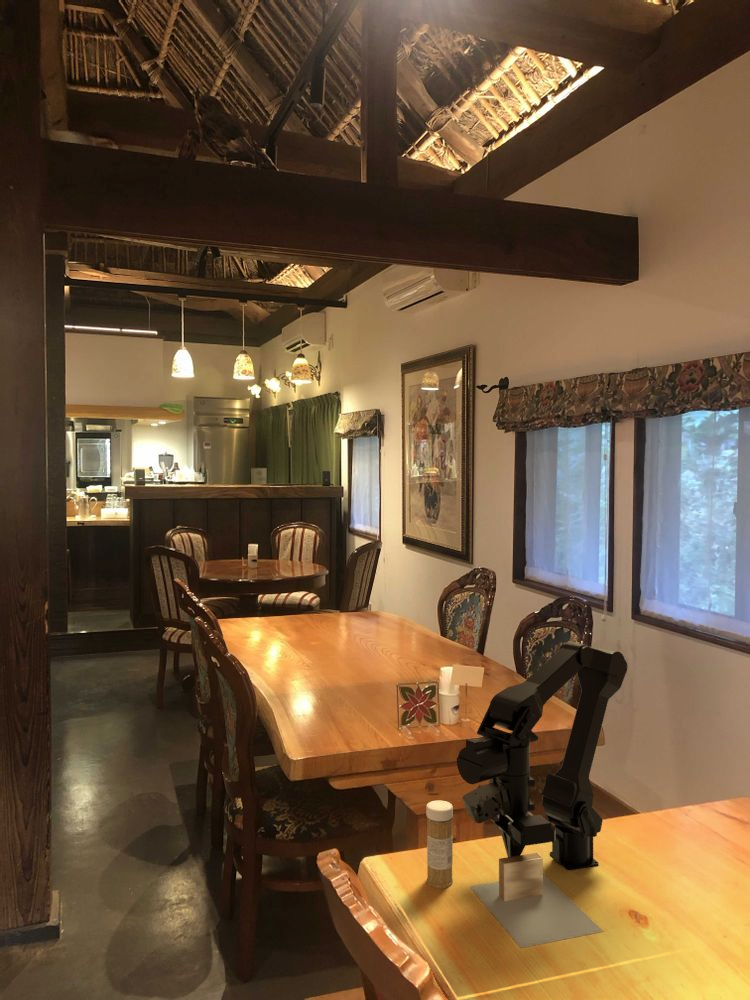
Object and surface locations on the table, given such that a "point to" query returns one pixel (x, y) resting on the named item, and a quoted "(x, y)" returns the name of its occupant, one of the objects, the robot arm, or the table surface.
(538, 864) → the walnut tile
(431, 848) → the sprinkles bottle
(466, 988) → the table surface
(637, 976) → the table surface
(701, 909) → the table surface
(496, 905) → the slate mat
